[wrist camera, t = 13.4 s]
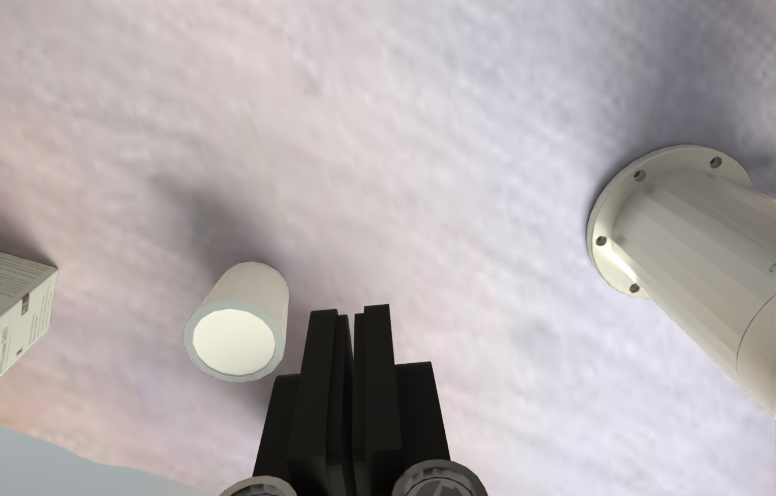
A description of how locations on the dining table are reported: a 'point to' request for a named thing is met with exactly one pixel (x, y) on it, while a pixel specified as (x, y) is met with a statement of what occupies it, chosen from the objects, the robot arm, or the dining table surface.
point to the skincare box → (23, 305)
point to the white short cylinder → (240, 324)
